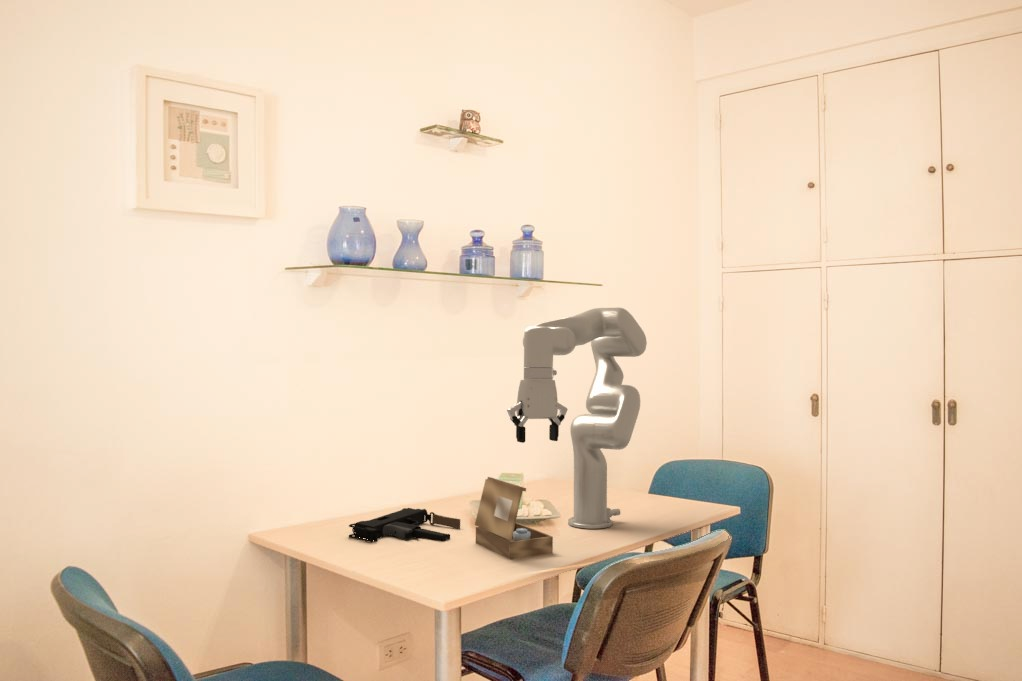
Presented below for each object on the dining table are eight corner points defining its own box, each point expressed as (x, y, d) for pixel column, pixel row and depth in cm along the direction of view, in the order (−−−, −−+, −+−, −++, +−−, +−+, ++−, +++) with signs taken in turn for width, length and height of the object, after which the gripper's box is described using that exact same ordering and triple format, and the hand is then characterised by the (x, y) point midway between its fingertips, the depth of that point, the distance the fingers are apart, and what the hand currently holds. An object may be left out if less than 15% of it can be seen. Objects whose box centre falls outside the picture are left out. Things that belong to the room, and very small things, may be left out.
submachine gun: (484, 516, 221) (413, 502, 233) (421, 540, 196) (345, 523, 208) (483, 532, 221) (412, 517, 234) (421, 558, 196) (345, 540, 208)
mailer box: (516, 539, 208) (516, 522, 208) (552, 555, 193) (552, 536, 193) (475, 544, 202) (475, 527, 202) (510, 561, 187) (510, 542, 187)
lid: (492, 477, 205) (486, 476, 204) (527, 488, 189) (521, 487, 188) (480, 526, 203) (474, 524, 202) (515, 541, 187) (509, 540, 186)
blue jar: (524, 543, 202) (524, 526, 202) (533, 547, 198) (533, 530, 198) (509, 545, 199) (510, 528, 200) (518, 549, 196) (518, 532, 196)
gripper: (559, 374, 209) (558, 438, 209) (501, 374, 201) (500, 441, 201) (574, 375, 203) (573, 441, 202) (515, 375, 195) (515, 444, 194)
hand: (537, 441), depth 202 cm, fingers open, 9 cm apart
